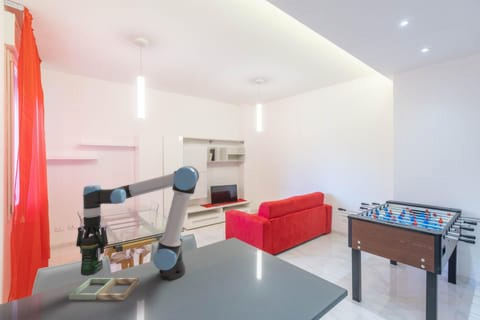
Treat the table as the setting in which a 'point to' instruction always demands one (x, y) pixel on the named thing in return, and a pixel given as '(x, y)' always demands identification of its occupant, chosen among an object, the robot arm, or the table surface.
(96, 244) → the coffee jar
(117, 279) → the birch frame
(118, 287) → the table surface
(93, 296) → the green frame
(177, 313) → the table surface
